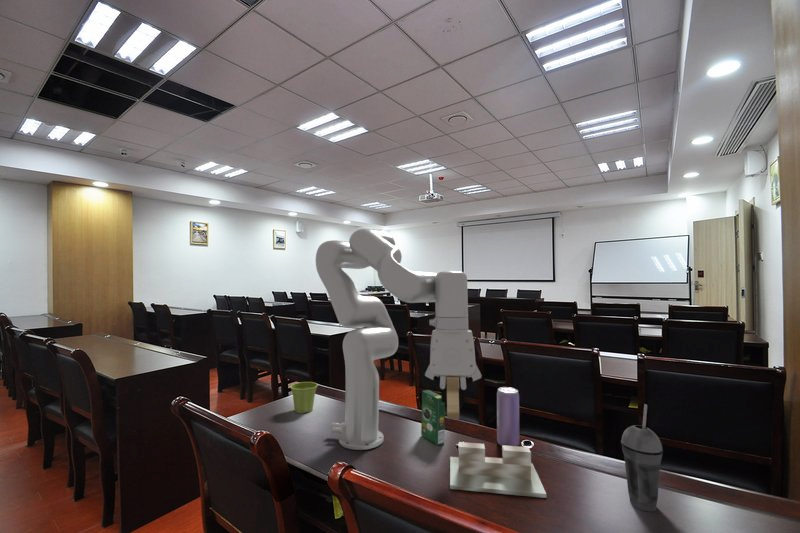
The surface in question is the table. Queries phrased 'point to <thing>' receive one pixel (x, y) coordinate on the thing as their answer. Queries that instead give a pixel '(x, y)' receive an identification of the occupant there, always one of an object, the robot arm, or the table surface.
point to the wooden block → (452, 397)
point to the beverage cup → (642, 464)
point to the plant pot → (303, 396)
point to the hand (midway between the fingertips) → (453, 405)
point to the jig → (495, 471)
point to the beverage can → (507, 416)
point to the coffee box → (433, 417)
